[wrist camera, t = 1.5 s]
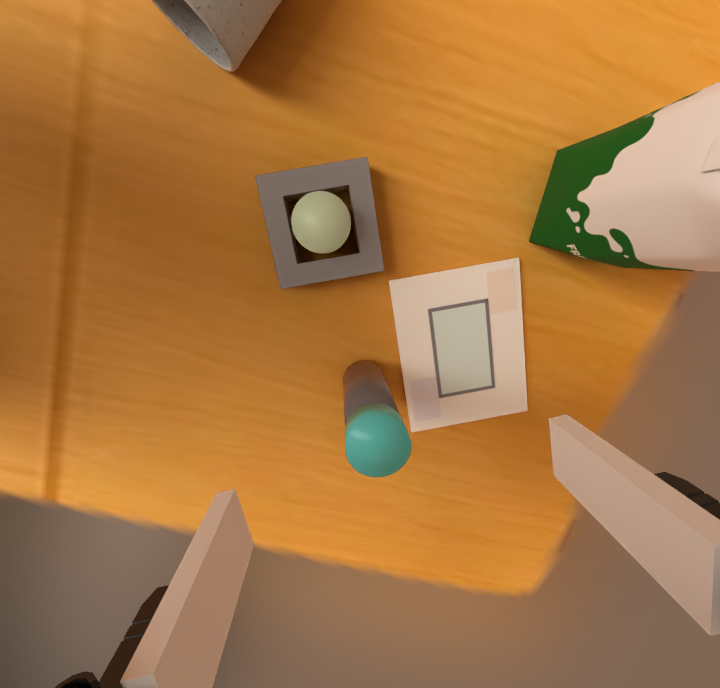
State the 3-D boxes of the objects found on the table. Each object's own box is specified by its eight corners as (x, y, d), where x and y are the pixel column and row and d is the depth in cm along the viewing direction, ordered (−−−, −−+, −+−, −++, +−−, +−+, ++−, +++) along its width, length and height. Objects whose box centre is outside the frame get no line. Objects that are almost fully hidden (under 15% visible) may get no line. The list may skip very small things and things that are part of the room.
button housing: (284, 286, 29) (280, 289, 27) (262, 182, 27) (255, 175, 25) (380, 269, 30) (384, 270, 27) (364, 165, 28) (367, 156, 25)
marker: (346, 400, 32) (351, 482, 20) (338, 361, 31) (340, 424, 20) (386, 392, 32) (414, 470, 21) (380, 353, 31) (406, 412, 20)
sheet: (410, 430, 33) (411, 432, 33) (388, 280, 30) (389, 280, 29) (525, 408, 33) (528, 411, 33) (516, 257, 30) (519, 257, 30)
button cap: (302, 257, 27) (298, 257, 25) (290, 202, 26) (285, 196, 24) (353, 248, 28) (355, 247, 25) (344, 193, 27) (345, 186, 24)
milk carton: (649, 162, 29) (1287, -25, 10) (607, 274, 31) (1065, 306, 12) (549, 134, 28) (1037, -139, 8) (513, 251, 30) (841, 245, 11)
